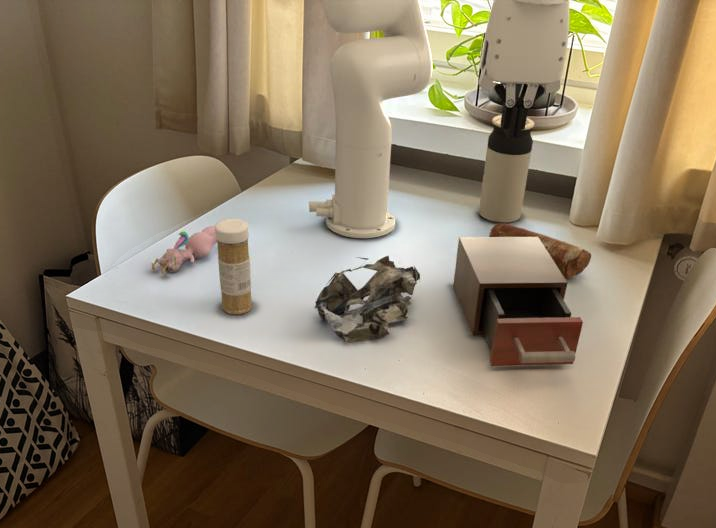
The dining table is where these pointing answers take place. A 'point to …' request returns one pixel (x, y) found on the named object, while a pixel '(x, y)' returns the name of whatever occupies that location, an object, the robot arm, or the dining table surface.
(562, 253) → the bread
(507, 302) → the drawer
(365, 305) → the foil
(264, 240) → the dining table surface
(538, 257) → the wooden drawer cabinet
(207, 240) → the rabbit figure
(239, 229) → the sprinkles bottle
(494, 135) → the travel mug
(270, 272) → the dining table surface
